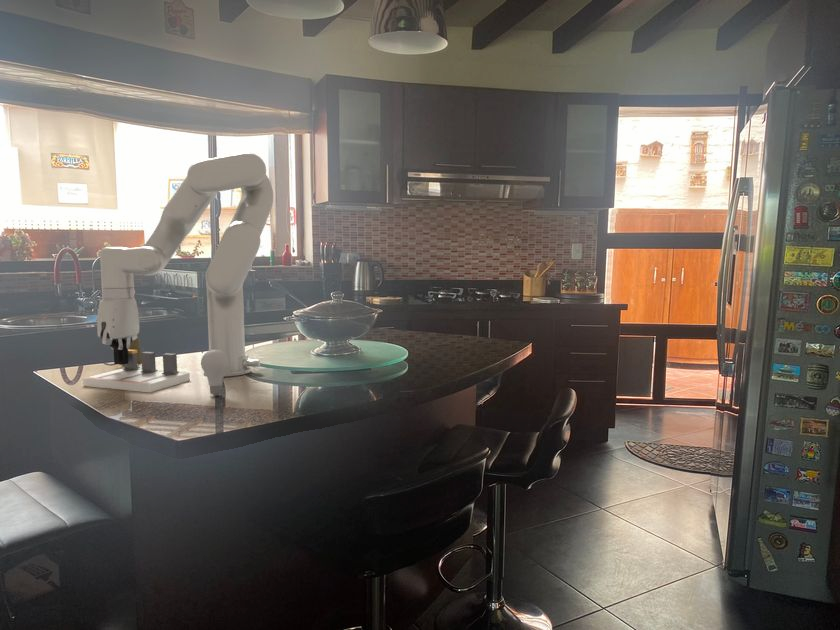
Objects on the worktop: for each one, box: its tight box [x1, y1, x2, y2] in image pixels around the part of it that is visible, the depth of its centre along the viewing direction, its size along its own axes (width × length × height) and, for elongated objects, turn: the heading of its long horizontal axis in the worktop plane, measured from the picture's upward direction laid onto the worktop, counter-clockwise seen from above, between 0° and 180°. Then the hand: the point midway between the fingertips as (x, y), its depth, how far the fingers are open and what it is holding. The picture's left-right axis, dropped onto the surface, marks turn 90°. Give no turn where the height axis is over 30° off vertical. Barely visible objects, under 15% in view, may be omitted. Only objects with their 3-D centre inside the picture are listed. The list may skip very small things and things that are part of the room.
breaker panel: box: [82, 367, 191, 393], centre depth 152 cm, size 14×21×2 cm, turn 71°
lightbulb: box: [200, 350, 228, 397], centre depth 138 cm, size 6×6×11 cm
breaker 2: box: [162, 352, 180, 375], centre depth 153 cm, size 3×3×5 cm
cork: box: [129, 329, 142, 365], centre depth 178 cm, size 6×6×11 cm
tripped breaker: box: [122, 349, 141, 371], centre depth 158 cm, size 3×3×5 cm
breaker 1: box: [140, 351, 158, 373], centre depth 155 cm, size 3×3×5 cm
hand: (121, 363), depth 156 cm, fingers closed
